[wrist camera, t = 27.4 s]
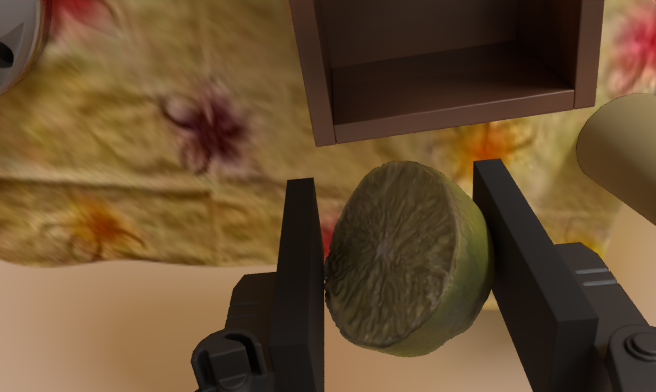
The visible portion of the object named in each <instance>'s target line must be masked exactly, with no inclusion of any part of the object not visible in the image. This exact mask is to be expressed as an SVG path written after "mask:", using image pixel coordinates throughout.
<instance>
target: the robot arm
mask: <svg viewBox="0 0 656 392" xmlns="http://www.w3.org/2000/svg"><path fill="white" fill-rule="evenodd" d="M51 6H52V0H0V96H1V95H3V94H4V93H6V92H7V91H9V90H10V89H12V88H13V87H14V86H15V85H17V84H18V83H19V82H20V81H21V80H22V79H23V78H24V77H25V76H26V75H27V74H28V73H29V71H30V70H31V69H32V67H33V66H34V65H35V63H36V61H37V60H38V58H39V56H40V54H41V52H42V50H43V47H44V45H45V42H46V39H47V35H48V31H49V26H50V20H51ZM473 202H474V203H475V204H476V205H477V206H478V208H479V209H480V210H481V212H482V214H483V217H484V219H485V221H486V223H487V225H488V228H489V230H490V233H491V236H492V240H493V244H494V255H495V261H494V262H495V269H494V271H495V277H494V283H493V286H492V288H491V289H492V291H493V294H494V296H495V299H496V301H497V304H498V306H499V309H500V311H501V314H502V316H503V319H504V321H505V323H506V326H507V329H508V331H509V333H510V336H511V338H512V341H513V343H514V346H515V348H516V351H517V353H518V356H519V358H520V361H521V363H522V366H523V368H524V371H525V373H526V375H527V378H528V380H529V383H530V385H531V388H532V390H533V392H656V327H653V326H650V325H649V324H648V323H647V321H646V320H645V319H644V317H643V316H642V314H641V313H640V312H639V310H638V309H637V307H636V306H635V305H634V303H633V302H632V301H631V299H630V298H629V296H628V295H627V294H626V292H625V291H624V289H623V288H622V287H621V285H620V284H618V283H617V280H616V279H615V277H614V276H613V274H612V273H611V271H610V272H609V270H608V267H607V266H606V265H605V263H604V262H603V260H602V259H601V258H600V256H599V255H598V254H597V253H596V252H594V251H593V250H591V249H589V248H588V247H586V246H585V245H583V244H582V243H580V242H578V243H567V244H556V245H554V244H553V243H552V241H551V239H550V238H549V236H548V234H547V233H546V231H545V230H544V228H543V226H542V225H541V223H540V222H539V220H538V218H537V217H536V215H535V214H534V212H533V210H532V209H531V207H530V206H529V204H528V202H527V201H526V199H525V197H524V196H523V194H522V193H521V191H520V189H519V188H518V186H517V185H516V183H515V181H514V180H513V178H512V177H511V175H510V173H509V172H508V170H507V169H506V167H505V165H504V164H503V162H502V160H501V159H491V160H481V161H473ZM191 364H192V367H193V370H194V374H195V376H196V379H197V383H198V386H199V389H198V390H196V391H195V392H324V249H323V242H322V235H321V228H320V221H319V214H318V206H317V199H316V192H315V185H314V178H303V179H293V180H287V188H286V196H285V205H284V213H283V222H282V230H281V238H280V247H279V255H278V264H277V272H269V273H258V274H247V275H244V276H243V277H242V278H241V280H240V281H239V282H238V283H237V285H236V286H235V287H234V288H233V292H232V296H231V301H230V307H229V310H228V315H227V320H226V324H225V328H224V329H223V330H220V331H217V332H215V333H212V334H210V335H209V336H208V337H206V338H205V339H203V340H202V341H201V342H200V343H199V344H198V345H197V347H196V348H195V350H194V351H193V354H192V358H191Z"/></svg>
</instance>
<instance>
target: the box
mask: <svg viewBox="0 0 656 392" xmlns="http://www.w3.org/2000/svg"><path fill="white" fill-rule="evenodd" d="M289 3H290V8H291V14H292V19H293V25H294V30H295V36H296V41H297V47H298V52H299V58H300V63H301V68H302V74H303V79H304V85H305V90H306V96H307V101H308V107H309V112H310V118H311V123H312V129H313V134H314V140H315V145H316V147H320V146H327V145H334V144H336V143H337V144H340V143H347V142H354V141H361V140H368V139H375V138H382V137H389V136H395V135H402V134H409V133H416V132H423V131H430V130H437V129H444V128H451V127H458V126H465V125H471V124H478V123H485V122H492V121H499V120H506V119H513V118H520V117H527V116H534V115H541V114H547V113H554V112H561V111H568V110H573V109H581V108H588V107H594V106H595V99H596V88H597V77H598V66H599V55H600V44H601V33H602V21H603V10H604V0H289Z"/></svg>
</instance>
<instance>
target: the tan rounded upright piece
mask: <svg viewBox="0 0 656 392" xmlns="http://www.w3.org/2000/svg"><path fill="white" fill-rule="evenodd" d="M576 151H577V161H578V163H579V165H580V167H581V168H582V170H583V172H584V173H585V174H586V175H588V176H589V177H590V178H591V179H593V180H594V181H595V182H597V183H598V184H600V185H601V186H602V187H604V188H605V189H606V190H608V191H609V192H610V193H612V194H613V195H614V196H616V197H617V198H619V199H620V200H621V201H623V202H624V203H625V204H627V205H628V206H629V207H631V208H632V209H634V210H635V211H636V212H638V213H639V214H641V215H642V216H643V217H645V218H646V219H647V220H649V221H650V222H651V223H653V224H654V225H655V226H656V96H654V95H651V94H631V95H627V96H623V97H620V98H616V99H615V100H613V101H611V102H609V103H608V104H606V105H604V106H603V107H601V108H600V109H599V110H598V111H597V112H596V113H595V114H594V115H593V116H592V117H590V118H589V119H588V121H587V123H586V124H585V126H584V128H583V129H582V131H581V132H580V135H579V139H578V143H577V147H576Z"/></svg>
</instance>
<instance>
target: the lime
mask: <svg viewBox="0 0 656 392" xmlns="http://www.w3.org/2000/svg"><path fill="white" fill-rule="evenodd" d="M329 249H330V252H329V255H328V256H327V257H326V260H325V264H324V274H325V275H324V280H325V283H324V290H325V291H326V293H325V302H326V305H327V307H328V309H329V312H330V314H331V316H332V319H333V321H334V322H335V323H336V326H337V327H338V328H339V329H340V333H341V334H342V336H343V337H344V338H346V339H347V340H348V341H349V342H351V343H353V344H355V345H357V346H360V347H362V348H366V349H370V350H374V351H378V352H382V353H386V354H390V355H394V356H399V357H416V356H422V355H426V354H429V353H430V352H432V351H434V350H436V349H437V348H439V347H440V346H442V345H443V344H444V343H445V342H446V341H447V340H449V339H452V338H453V337H455V336H457V335H459V334H461V333H463V332H464V331H466V330H467V329H468V328H469V327H470V326H471V325H472V323H473V322H474V320H475V319H476V317H477V315H478V314H479V313H480V311H481V309H482V307H483V305H484V303H485V302H486V300H487V299H488V296H489V294H490V291H491V288H492V286H493V283H494V277H495V271H494V269H495V262H494V261H495V255H494V244H493V240H492V236H491V233H490V230H489V228H488V225H487V223H486V221H485V219H484V217H483V214H482V212H481V210H480V209H479V208H478V206H477V205H476V204H475V203H474V202H473V201H472V199H471V198H470V197H469V196H468V195H467V194H466V193H465V192H464V191H463V190H462V189H461V188H460V187H459V186H458V185H456V184H455V183H454V182H452V181H451V180H450V179H449V178H447V177H446V176H445V175H444V174H442V173H441V172H439V171H437V170H434V169H433V168H431V167H427V166H425V165H421V164H419V163H417V162H412V161H392V162H388V163H387V164H383V165H382V166H381V167H377V168H374V169H373V170H372V171H371V172H369V173H368V174H367V175H366V176H365V177H364V178H363V179H362V181H361V182H360V183H359V185H358V187H357V188H356V190H355V191H354V192H353V194H352V195H351V197H350V198H349V200H348V201H347V203H346V205H345V207H344V209H343V211H342V214H341V216H340V218H339V219H338V221H337V223H336V226H335V229H334V233H333V237H332V241H331V243H330V247H329Z"/></svg>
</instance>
